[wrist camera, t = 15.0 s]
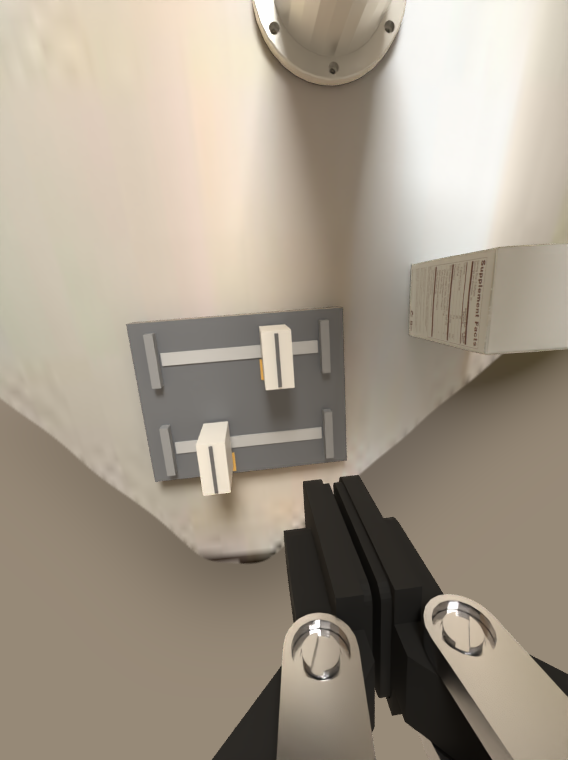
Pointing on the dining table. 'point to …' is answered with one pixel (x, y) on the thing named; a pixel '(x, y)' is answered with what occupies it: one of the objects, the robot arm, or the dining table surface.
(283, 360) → the block
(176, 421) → the console
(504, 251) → the supplement box
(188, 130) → the dining table surface
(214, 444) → the block
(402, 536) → the robot arm
